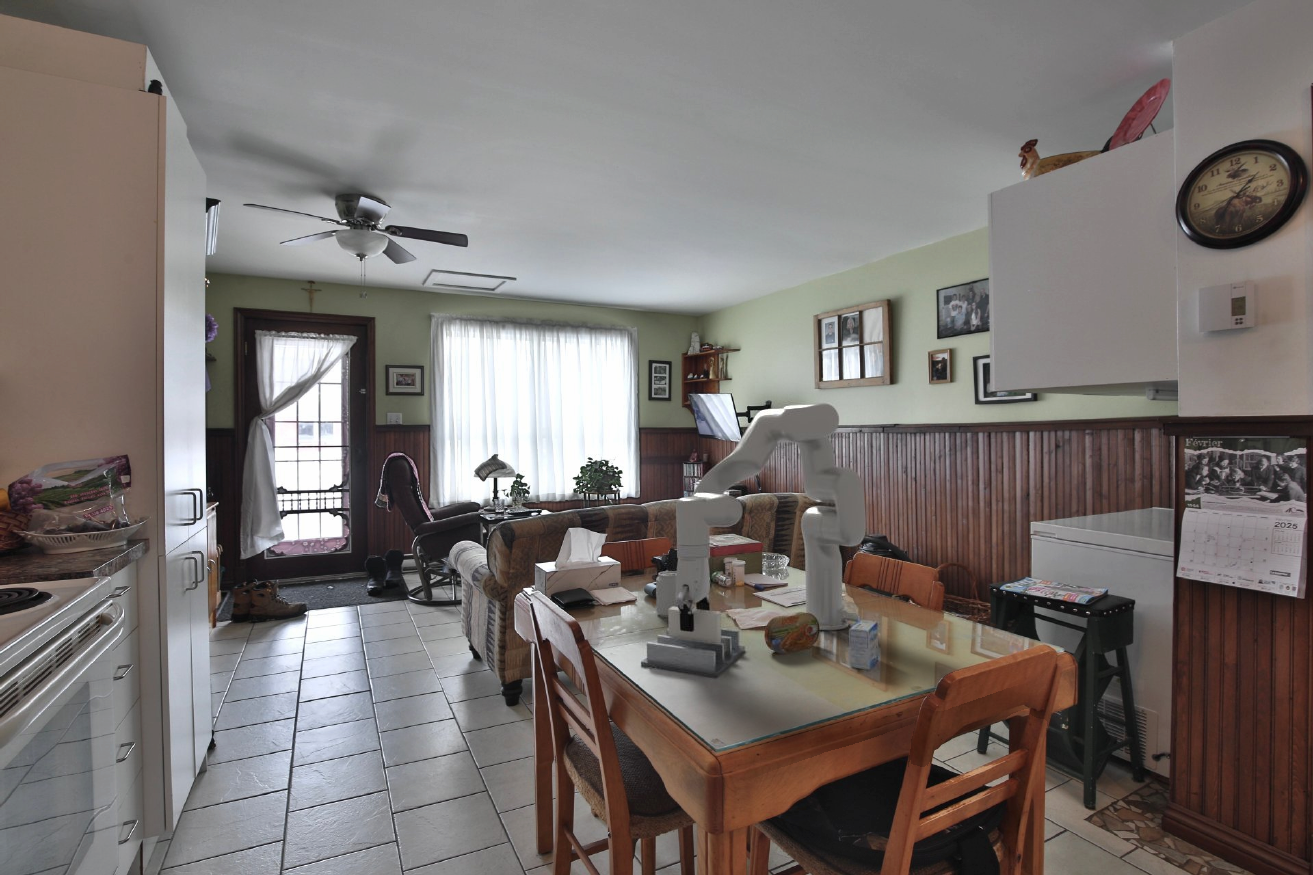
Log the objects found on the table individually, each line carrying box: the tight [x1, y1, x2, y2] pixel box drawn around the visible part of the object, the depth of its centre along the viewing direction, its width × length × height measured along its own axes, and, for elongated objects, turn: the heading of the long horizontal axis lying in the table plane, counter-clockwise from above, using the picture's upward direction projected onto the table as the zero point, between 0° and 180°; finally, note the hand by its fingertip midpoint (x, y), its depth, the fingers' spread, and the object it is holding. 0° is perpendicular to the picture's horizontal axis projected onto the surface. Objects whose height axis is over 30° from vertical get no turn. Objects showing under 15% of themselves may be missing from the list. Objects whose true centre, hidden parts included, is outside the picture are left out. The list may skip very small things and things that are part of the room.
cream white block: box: [667, 607, 722, 643], centre depth 150 cm, size 2×12×10 cm, turn 65°
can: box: [655, 570, 678, 618], centre depth 186 cm, size 8×8×12 cm
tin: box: [764, 611, 821, 655], centre depth 155 cm, size 15×3×8 cm, turn 117°
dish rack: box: [640, 627, 746, 680], centre depth 150 cm, size 18×19×5 cm
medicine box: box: [848, 619, 879, 671], centre depth 145 cm, size 8×4×9 cm, turn 148°
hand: (695, 624), depth 150 cm, fingers open, 9 cm apart
